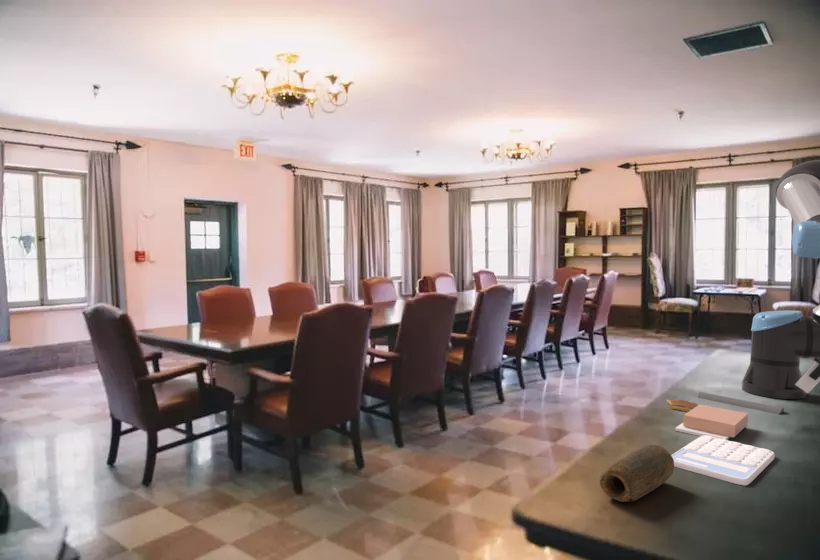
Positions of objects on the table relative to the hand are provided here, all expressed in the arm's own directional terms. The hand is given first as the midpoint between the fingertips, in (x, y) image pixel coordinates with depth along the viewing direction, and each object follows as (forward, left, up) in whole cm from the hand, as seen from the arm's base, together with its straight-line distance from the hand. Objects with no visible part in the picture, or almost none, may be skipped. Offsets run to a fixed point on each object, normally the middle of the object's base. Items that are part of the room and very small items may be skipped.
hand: (802, 388), depth 114 cm
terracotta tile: (+3, -10, -9) cm, 14 cm away
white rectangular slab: (+3, -16, -11) cm, 20 cm away
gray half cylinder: (-24, -16, -12) cm, 31 cm away
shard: (-10, -24, -12) cm, 28 cm away
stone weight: (+48, -16, -12) cm, 52 cm away
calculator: (+23, -9, -12) cm, 28 cm away
